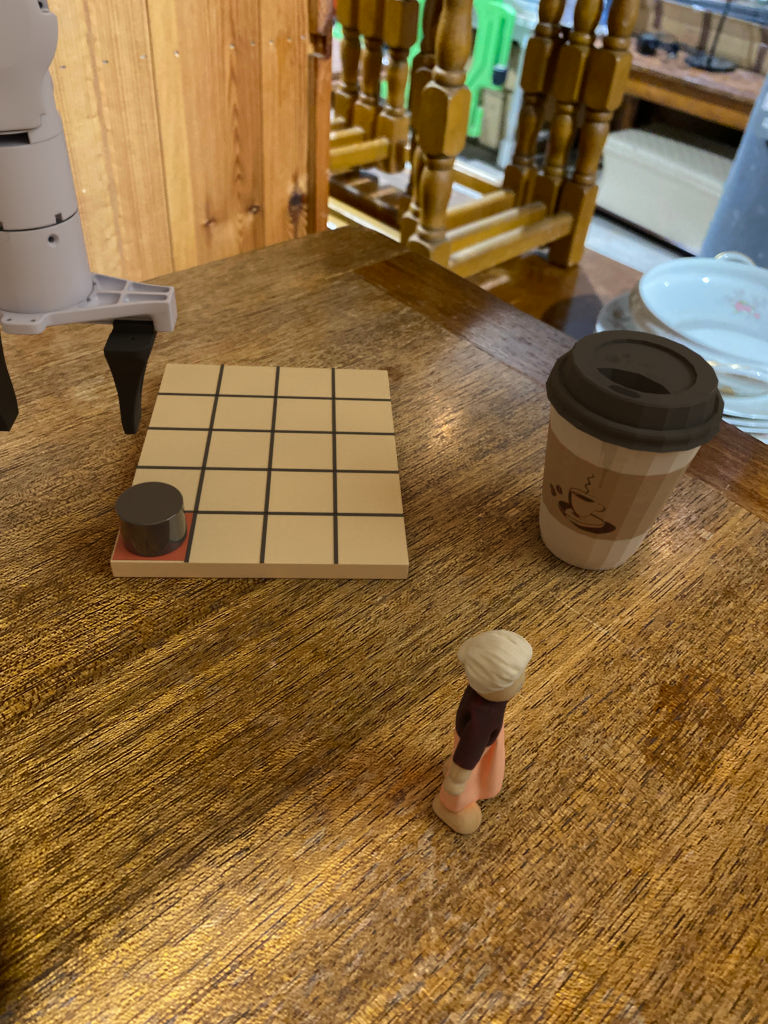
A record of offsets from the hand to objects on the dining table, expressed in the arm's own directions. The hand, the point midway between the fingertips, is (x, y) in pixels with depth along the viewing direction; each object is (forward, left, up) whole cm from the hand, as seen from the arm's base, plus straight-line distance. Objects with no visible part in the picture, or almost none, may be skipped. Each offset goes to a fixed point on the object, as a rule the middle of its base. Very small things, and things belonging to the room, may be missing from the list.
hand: (71, 423), depth 50 cm
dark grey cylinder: (+5, -2, -8) cm, 9 cm away
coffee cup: (+36, 0, -10) cm, 37 cm away
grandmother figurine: (+24, -20, -10) cm, 33 cm away
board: (+12, +8, -9) cm, 17 cm away
